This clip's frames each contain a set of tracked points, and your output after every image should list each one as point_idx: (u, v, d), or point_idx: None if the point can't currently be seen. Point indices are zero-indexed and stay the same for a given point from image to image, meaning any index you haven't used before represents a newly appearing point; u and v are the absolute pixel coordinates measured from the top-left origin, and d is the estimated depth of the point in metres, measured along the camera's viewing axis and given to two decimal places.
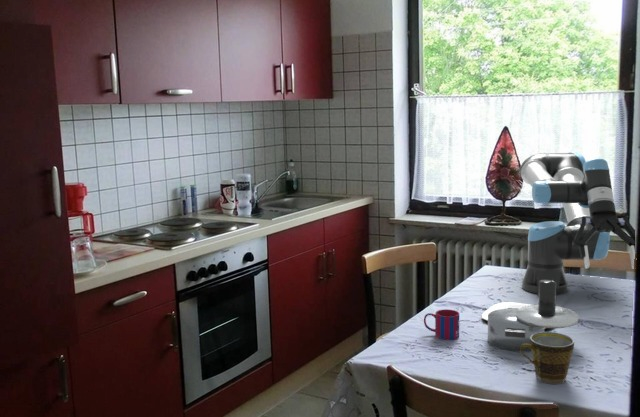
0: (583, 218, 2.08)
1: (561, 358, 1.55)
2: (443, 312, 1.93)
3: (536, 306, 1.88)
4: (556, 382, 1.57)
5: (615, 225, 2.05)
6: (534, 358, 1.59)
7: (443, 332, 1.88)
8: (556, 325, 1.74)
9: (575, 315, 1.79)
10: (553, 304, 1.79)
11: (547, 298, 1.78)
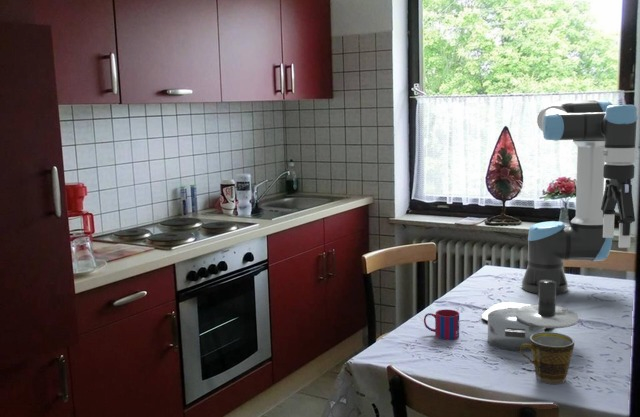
0: None
1: (561, 358, 1.55)
2: (443, 312, 1.93)
3: (536, 306, 1.88)
4: (556, 382, 1.57)
5: (614, 195, 1.75)
6: (534, 358, 1.59)
7: (443, 332, 1.88)
8: (556, 325, 1.74)
9: (575, 315, 1.79)
10: (553, 304, 1.79)
11: (547, 298, 1.78)
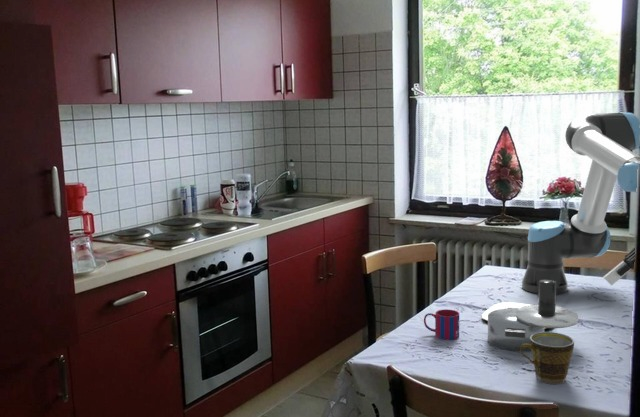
0: None
1: (561, 358, 1.55)
2: (443, 312, 1.93)
3: (536, 306, 1.88)
4: (556, 382, 1.57)
5: None
6: (534, 358, 1.59)
7: (443, 332, 1.88)
8: (556, 325, 1.74)
9: (575, 315, 1.79)
10: (553, 304, 1.79)
11: (547, 298, 1.78)
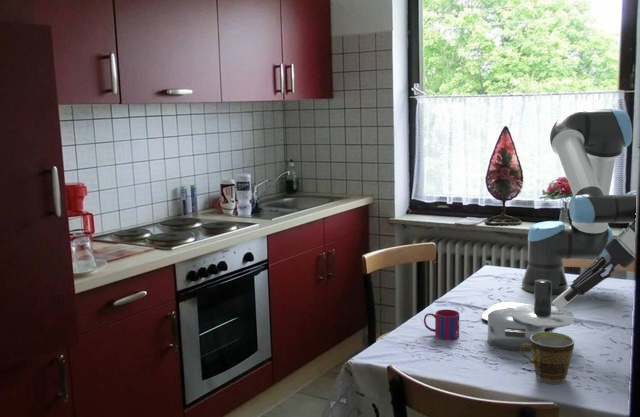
0: (596, 258, 1.81)
1: (561, 358, 1.55)
2: (443, 312, 1.93)
3: (532, 306, 1.88)
4: (556, 382, 1.57)
5: (595, 266, 1.74)
6: (534, 358, 1.59)
7: (443, 332, 1.88)
8: (552, 325, 1.74)
9: (571, 315, 1.80)
10: (549, 304, 1.79)
11: (542, 298, 1.79)
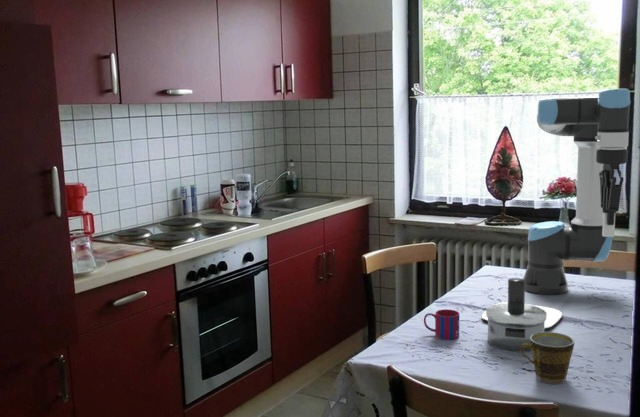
0: (599, 174, 1.82)
1: (561, 358, 1.55)
2: (443, 312, 1.93)
3: (506, 304, 1.90)
4: (556, 382, 1.57)
5: (605, 181, 1.76)
6: (534, 358, 1.59)
7: (443, 332, 1.88)
8: (524, 323, 1.76)
9: (544, 313, 1.82)
10: (522, 302, 1.81)
11: (516, 296, 1.81)
